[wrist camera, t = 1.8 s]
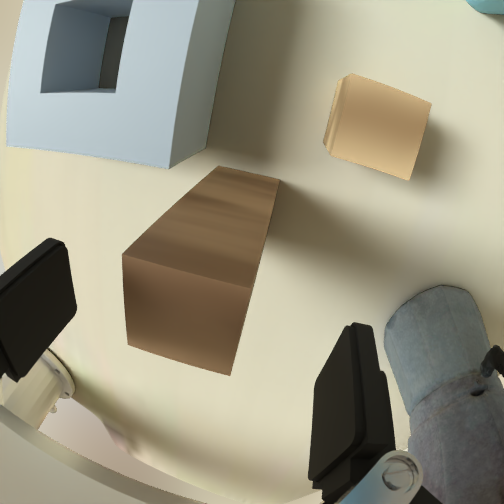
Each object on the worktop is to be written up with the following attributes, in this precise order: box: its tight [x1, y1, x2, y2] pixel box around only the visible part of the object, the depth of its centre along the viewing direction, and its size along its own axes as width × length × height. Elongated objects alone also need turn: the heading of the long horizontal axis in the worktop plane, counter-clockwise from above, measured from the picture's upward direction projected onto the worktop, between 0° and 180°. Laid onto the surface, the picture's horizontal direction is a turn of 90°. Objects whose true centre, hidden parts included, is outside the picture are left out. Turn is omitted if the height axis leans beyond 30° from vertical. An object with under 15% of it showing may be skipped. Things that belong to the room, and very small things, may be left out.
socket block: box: [6, 0, 236, 169], centre depth 14 cm, size 12×12×6 cm
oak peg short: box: [323, 74, 431, 181], centre depth 15 cm, size 4×4×5 cm
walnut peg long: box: [122, 166, 280, 376], centre depth 15 cm, size 4×4×12 cm
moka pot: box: [384, 285, 504, 504], centre depth 14 cm, size 10×15×20 cm, turn 14°
